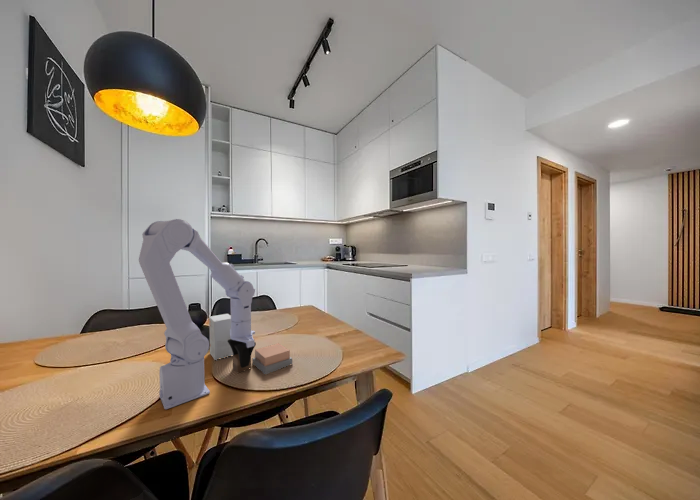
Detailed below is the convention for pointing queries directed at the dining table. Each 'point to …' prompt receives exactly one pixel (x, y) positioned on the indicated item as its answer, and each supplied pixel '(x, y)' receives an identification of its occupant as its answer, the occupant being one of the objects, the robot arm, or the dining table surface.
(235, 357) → the walnut cube
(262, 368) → the slate slab
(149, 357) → the dining table surface
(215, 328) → the small box
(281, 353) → the terracotta tile
